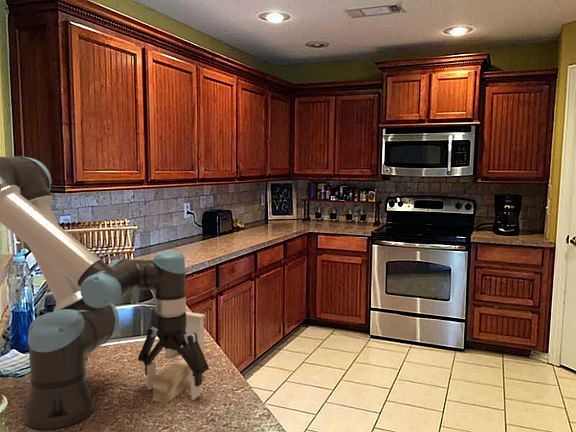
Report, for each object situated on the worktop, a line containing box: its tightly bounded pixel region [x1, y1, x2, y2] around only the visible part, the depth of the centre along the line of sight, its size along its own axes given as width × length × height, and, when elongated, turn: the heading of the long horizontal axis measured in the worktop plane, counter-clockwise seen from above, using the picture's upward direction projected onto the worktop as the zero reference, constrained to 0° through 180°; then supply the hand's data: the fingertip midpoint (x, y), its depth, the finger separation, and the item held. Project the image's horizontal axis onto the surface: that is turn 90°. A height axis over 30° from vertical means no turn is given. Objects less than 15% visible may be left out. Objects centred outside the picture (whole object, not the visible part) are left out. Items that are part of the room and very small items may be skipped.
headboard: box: [164, 311, 206, 359], centre depth 147 cm, size 6×11×13 cm, turn 67°
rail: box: [152, 357, 197, 404], centre depth 127 cm, size 16×4×6 cm, turn 157°
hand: (173, 392), depth 124 cm, fingers open, 13 cm apart
